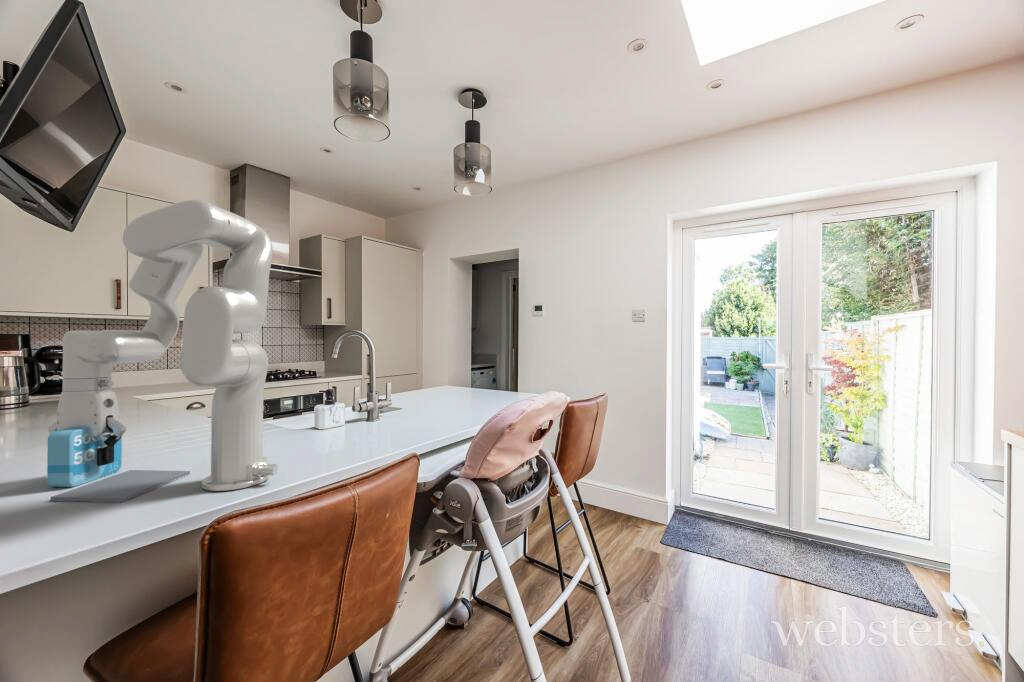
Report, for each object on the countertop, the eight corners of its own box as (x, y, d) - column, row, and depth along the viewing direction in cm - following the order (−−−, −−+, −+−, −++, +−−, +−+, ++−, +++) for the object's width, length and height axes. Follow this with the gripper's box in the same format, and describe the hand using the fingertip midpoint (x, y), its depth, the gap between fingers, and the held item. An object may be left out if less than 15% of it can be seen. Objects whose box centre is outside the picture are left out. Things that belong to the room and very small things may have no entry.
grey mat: (189, 474, 93) (189, 470, 93) (122, 502, 77) (122, 498, 77) (130, 473, 93) (130, 470, 93) (50, 501, 77) (50, 496, 77)
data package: (69, 489, 83) (69, 432, 83) (46, 489, 83) (46, 432, 83) (122, 470, 95) (122, 420, 95) (102, 470, 95) (102, 420, 95)
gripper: (141, 384, 93) (141, 459, 93) (68, 383, 93) (67, 458, 93) (108, 388, 85) (108, 470, 85) (28, 387, 85) (27, 468, 85)
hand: (86, 463), depth 89 cm, fingers open, 7 cm apart
